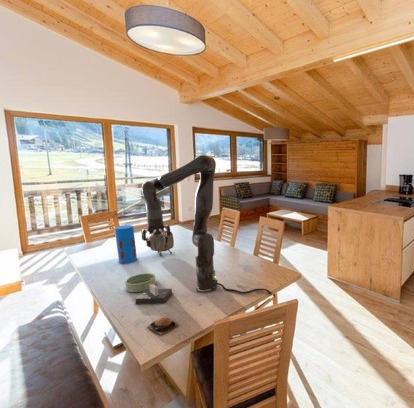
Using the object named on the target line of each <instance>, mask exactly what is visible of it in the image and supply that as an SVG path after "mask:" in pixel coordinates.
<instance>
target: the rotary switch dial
mask: <svg viewBox="0 0 414 408" xmlns="http://www.w3.org/2000/svg"><path fill="white" fill-rule="evenodd" d="M172 294H173V289H172V288H160V287H158V295H157V296H155V295H153V294H152V293H151V292H150V289H145V290H144V291H141V292H140V294H138V296H137V297H136V298H135V305H148V304H149V305H153V304H155V305H156V304H165V303H166V302H167V301H168V299H169V298H170V297H171V296H172Z"/></svg>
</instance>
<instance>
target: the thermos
mask: <svg viewBox="0 0 414 408" xmlns="http://www.w3.org/2000/svg"><path fill="white" fill-rule="evenodd" d="M114 235H115V241H116V250H117V255H118V256H117V257H118V262H119V264H123V265H125V264H130V263H134V262H136V261H137V260H138V258H137V247H136V238H135V229H134V226H133V225H132V224H123V225H118V226H116V227H114Z"/></svg>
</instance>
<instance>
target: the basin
mask: <svg viewBox="0 0 414 408" xmlns="http://www.w3.org/2000/svg"><path fill="white" fill-rule="evenodd" d="M150 283H153V284H154V285H156V283H157V280H156V275H155V274H153V273H149V272H148V273H139V274H135V275H131V276H130V277H128V278H127V279H125V281H124V285H125V290H126V291H127V292H129V293H142V292H143V291H144V290H145V289H150V287H149V284H150Z"/></svg>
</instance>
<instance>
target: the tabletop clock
mask: <svg viewBox="0 0 414 408" xmlns="http://www.w3.org/2000/svg"><path fill="white" fill-rule="evenodd" d="M163 226H165V224H164V223H163ZM163 231H164V232H165V233H166V234H167V231H166V229H164V230H163ZM170 232H171V235H169V236H168V237H167V238H168V242H167V243H166V244H165V243H164V236H163V235H162V234H160V235H155V236H154V235H153V237H152V238H151V239H150V244H151V247H149V248H150V251H153V252H157V254H159V257H162V256H163V254H162V252H163V253H164V252H167V251H168V252H169V254H171V255H172V254H173V252H172V251H171V249H173V248H174V247H175V245H174V244H175V240H174V234H173V232H172V231H170Z"/></svg>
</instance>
